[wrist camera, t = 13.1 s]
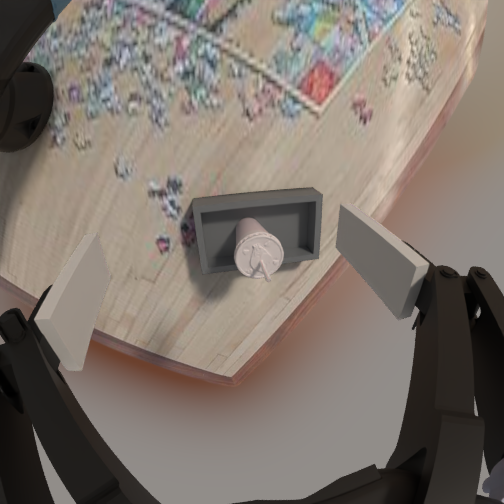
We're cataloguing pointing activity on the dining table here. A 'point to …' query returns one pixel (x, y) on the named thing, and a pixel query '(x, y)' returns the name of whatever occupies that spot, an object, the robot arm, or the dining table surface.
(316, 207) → the tray
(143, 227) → the dining table surface
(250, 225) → the smoothie
